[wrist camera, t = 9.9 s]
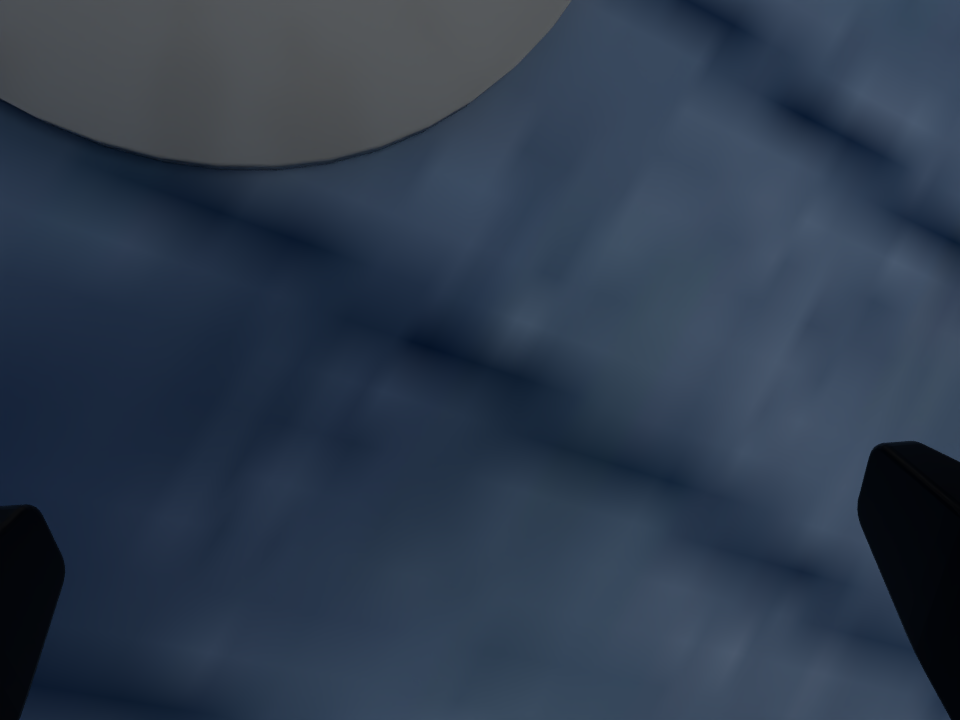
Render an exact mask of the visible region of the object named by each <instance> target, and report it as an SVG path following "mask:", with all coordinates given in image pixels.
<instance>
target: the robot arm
mask: <svg viewBox="0 0 960 720" xmlns="http://www.w3.org/2000/svg"><path fill="white" fill-rule="evenodd" d="M857 510H858V517H859V521H860V524H861V527H862V529H863V532H864V534H865V537H866V539H867V541H868V544H869V546H870V549H871V551H872V553H873V556H874V558H875V560H876V563H877V565H878V568H879V570H880V572H881V575H882V577H883V580H884V582H885V584H886V587H887V589H888V591H889V594H890V596H891V599H892V601H893V603H894V606H895V608H896V611H897V613H898V615H899V618H900V620H901V623H902V625H903V627H904V630H905V632H906V634H907V636H908V639H909V641H910V643H911V645H912V647H913V649H914V652H915V654H916V656H917V657H918V659H919V661H920V663H921V665H922V667H923V669H924V671H925V673H926V675H927V677H928V678H929V680H930V682H931V684H932V686H933V687H934V689H935V691H936V693H937V695H938V697H939V698H940V700H941V702H942V704H943V706H944V708H945V709H946V711H947V713H948V715H949V717H950V718H951V720H960V462H959V461H957V460H955V459H953V458H951V457H949V456H946V455H944V454H942V453H940V452H938V451H936V450H934V449H932V448H930V447H928V446H926V445H924V444H922V443H919V442H915V441H904V442H890V443H881V444H879V445H876V446H875V447H874V448H873V450H872V451H871V453H870V456H869V460H868V463H867V467H866V471H865V475H864V479H863V483H862V487H861V491H860V494H859V498H858V508H857ZM64 576H65V565H64V560H63V557H62V554H61V552H60V550H59V548H58V546H57V544H56V542H55V540H54V538H53V536H52V534H51V531H50V529H49V527H48V525H47V523H46V521H45V519H44V517H43V515H42V513H41V512H40V510H38V509H37V508H36V507H34V506H32V505H27V504H25V505H11V506H0V720H19V718H20V716H21V713H22V710H23V707H24V705H25V702H26V699H27V696H28V693H29V690H30V687H31V684H32V681H33V677H34V674H35V671H36V668H37V665H38V662H39V658H40V655H41V652H42V649H43V646H44V643H45V639H46V636H47V633H48V630H49V627H50V624H51V620H52V617H53V614H54V611H55V608H56V605H57V601H58V598H59V595H60V592H61V589H62V586H63V582H64Z"/></svg>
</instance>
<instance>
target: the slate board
mask: <svg viewBox="0 0 960 720" xmlns="http://www.w3.org/2000/svg"><path fill="white" fill-rule="evenodd" d="M570 2H571V0H0V99H2V100H3V101H5V102H7V103H9V104H11V105H13V106H15V107H17V108H19V109H20V110H22V111H24V112H26V113H28V114H30V115H32V116H34V117H35V118H37V119H39V120H41V121H43V122H45V123H47V124H49V125H52V126H54V127H57V128H59V129H62V130H65V131H67V132H70V133H72V134H75V135H77V136H80V137H82V138H85V139H87V140H90V141H93V142H95V143H98V144H100V145H103V146H105V147H109V148H113V149H117V150H120V151H124V152H128V153H132V154H136V155H139V156H143V157H147V158H151V159H155V160H158V161H162V162H168V163H175V164H182V165H190V166H197V167H204V168H212V169H219V170H282V169H291V168H299V167H307V166H315V165H323V164H330V163H334V162H338V161H341V160H345V159H349V158H353V157H357V156H360V155H364V154H368V153H372V152H376V151H379V150H381V149H384V148H386V147H388V146H391V145H393V144H396V143H398V142H400V141H403V140H405V139H408V138H410V137H412V136H415V135H417V134H420V133H422V132H424V131H426V130H427V129H429V128H431V127H433V126H434V125H436V124H438V123H439V122H441V121H443V120H444V119H446V118H448V117H449V116H451V115H453V114H454V113H456V112H458V111H460V110H461V109H463V108H465V107H466V106H467V105H468V104H470V103H471V102H472V101H473V100H475V99H476V98H477V97H478V96H480V95H481V94H482V93H483V92H485V91H486V90H487V89H488V88H490V87H491V86H492V85H493V84H495V83H496V82H497V81H498V80H500V79H501V78H502V77H503V76H504V75H506V74H507V73H508V72H509V71H510V70H512V69H513V68H514V67H515V66H516V65H517V64H518V63H519V62H520V61H521V60H522V59H523V58H524V57H525V56H526V55H527V54H528V53H529V52H530V51H531V50H532V49H533V47H534V46H535V45H536V44H537V43H538V42H539V41H540V40H541V39H542V38H543V37H544V36H545V35H546V34H547V33H548V32H549V31H550V29H551V28H552V27H553V26H554V24H555V23H556V22H557V20H558V19H559V17H560V16H561V14H562V13H563V12H564V10H565V9H566V7H567V6H568V5H569V3H570Z"/></svg>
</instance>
